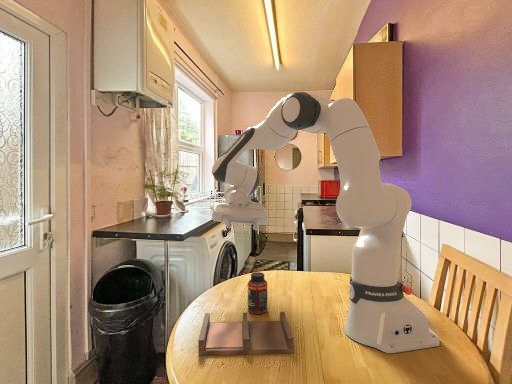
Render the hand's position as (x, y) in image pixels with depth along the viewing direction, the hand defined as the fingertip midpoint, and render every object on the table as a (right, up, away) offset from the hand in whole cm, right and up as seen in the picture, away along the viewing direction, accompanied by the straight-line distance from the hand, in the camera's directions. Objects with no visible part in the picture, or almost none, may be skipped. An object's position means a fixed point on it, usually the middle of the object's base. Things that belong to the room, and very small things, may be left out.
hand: (242, 227), depth 105 cm
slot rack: (+2, -25, -28) cm, 37 cm away
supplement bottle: (+5, -24, -11) cm, 27 cm away
